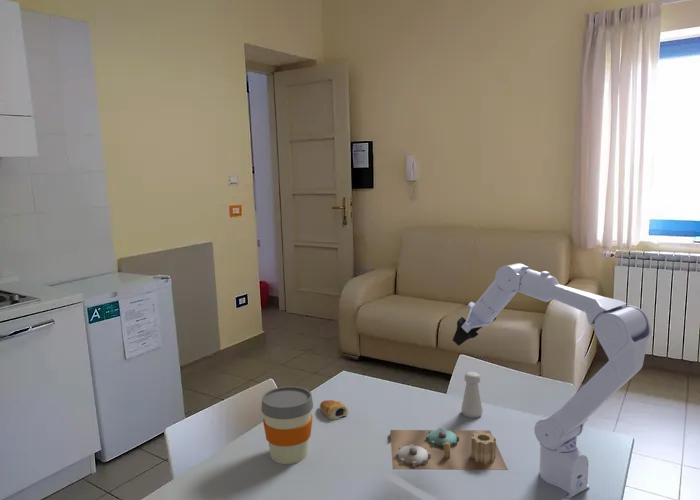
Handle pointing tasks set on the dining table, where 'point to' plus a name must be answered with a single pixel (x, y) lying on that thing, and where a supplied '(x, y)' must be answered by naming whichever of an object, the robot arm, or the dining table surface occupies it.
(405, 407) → the dining table surface
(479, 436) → the wooden gear
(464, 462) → the gear board
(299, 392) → the reusable coffee cup
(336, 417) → the pastry
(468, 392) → the salt shaker
